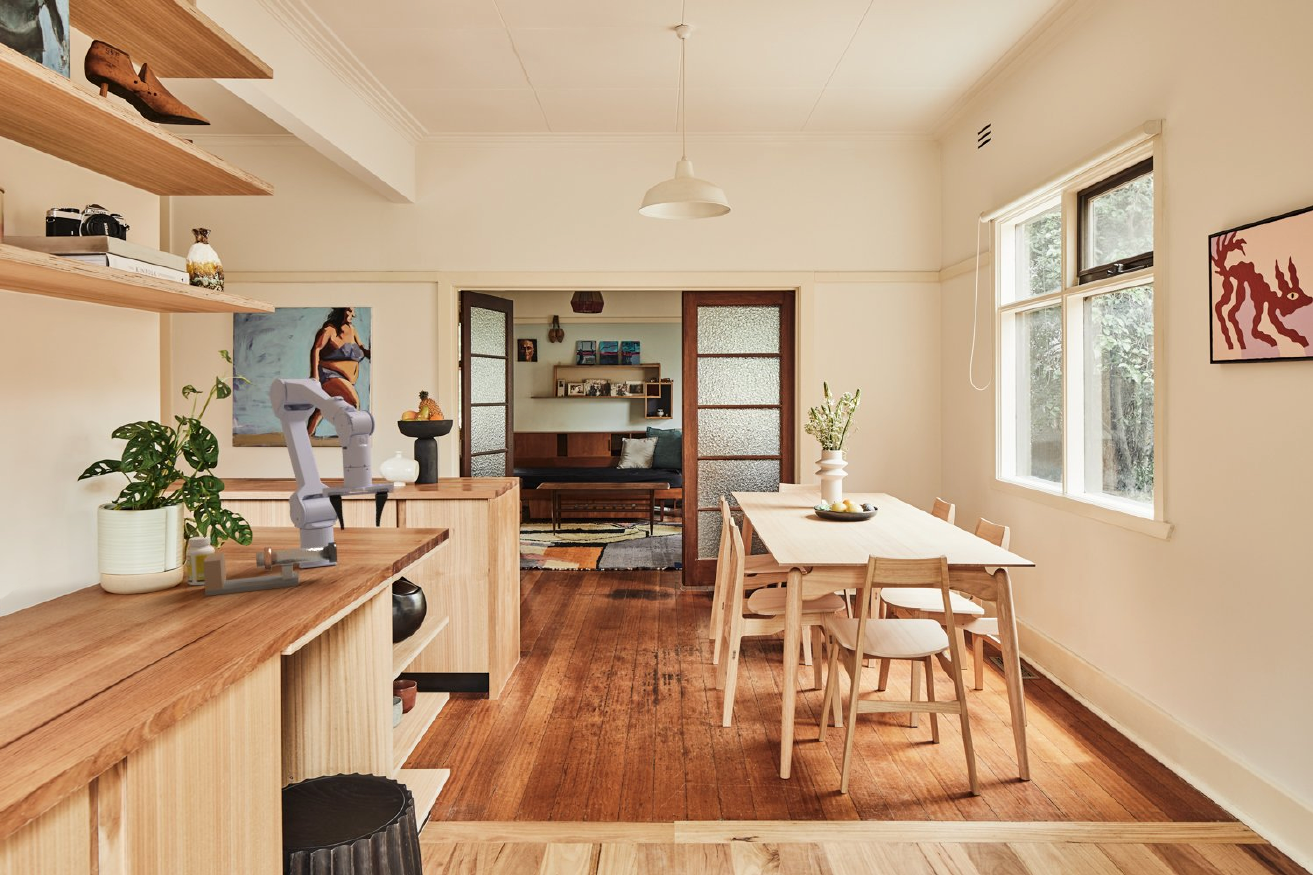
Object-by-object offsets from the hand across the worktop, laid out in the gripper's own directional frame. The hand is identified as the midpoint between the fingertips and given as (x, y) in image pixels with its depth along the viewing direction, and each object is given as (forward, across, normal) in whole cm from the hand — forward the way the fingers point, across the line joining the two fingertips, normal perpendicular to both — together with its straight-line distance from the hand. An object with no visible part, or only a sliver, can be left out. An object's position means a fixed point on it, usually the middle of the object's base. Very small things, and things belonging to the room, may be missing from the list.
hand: (360, 527), depth 174 cm
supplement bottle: (+11, -32, +9) cm, 35 cm away
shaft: (+7, -13, 0) cm, 15 cm away
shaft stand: (+10, -21, 0) cm, 23 cm away
